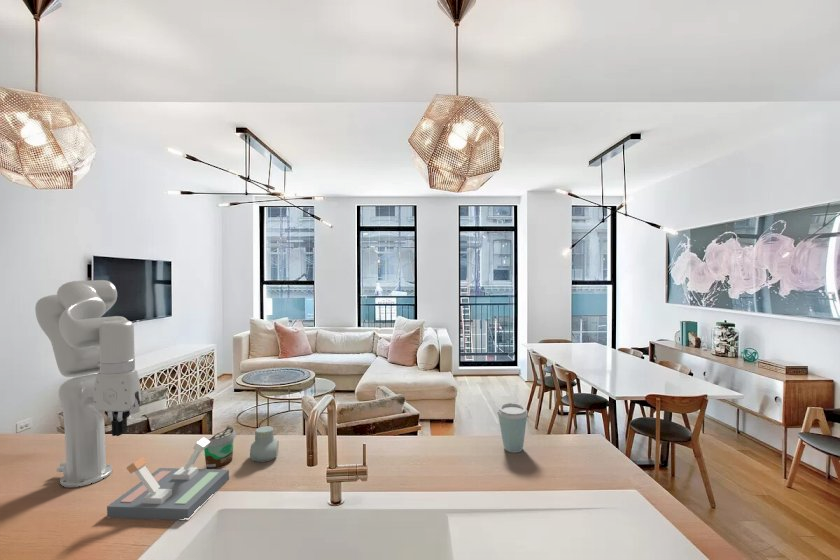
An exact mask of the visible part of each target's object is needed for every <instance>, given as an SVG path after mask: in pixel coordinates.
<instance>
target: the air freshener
mask: <svg viewBox="0 0 840 560" xmlns="http://www.w3.org/2000/svg"><path fill="white" fill-rule="evenodd" d="M274 434H275V433H274V427H273V426H270V425H265V426H260V427H258V428H256V429H255V430H254V441H253V442H252V443H251V444H250V449H249V459H250V460H252V461H255V462H257V463H264V462H269V461H272V460H273V459H275V458H276V457H277V456H278V455H279V445H280V444H279V443H280V442H279V439H276V438H275V435H274Z"/></svg>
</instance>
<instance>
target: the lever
mask: <svg viewBox="0 0 840 560" xmlns="http://www.w3.org/2000/svg"><path fill="white" fill-rule="evenodd" d="M208 440H209V439H207V438H206V437H202V438H201V439H199V440H197V442H196V443H195V444H194V446H193V449H194V451H193V453H192V454H191V456H190V458H189V459H188V461H187V462H186V464H185V465H184V466H183V467H184V470H186V471H188V470H189V469H190V468H191V467H194V465H195V462H196V461H197V460H198V458H199V456H200V454H201V453H202V452H204V449H205V448H207V446H208V445H209V443H210V441H208Z"/></svg>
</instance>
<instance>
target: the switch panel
mask: <svg viewBox="0 0 840 560" xmlns="http://www.w3.org/2000/svg"><path fill="white" fill-rule="evenodd" d="M184 467H185V466H181V467H180V468H177V467H175V468H171V467H159V468H157V469H156V470H155V471H153V472H152V473H151V475H152V476H153V477H154V479H155V480H156V481H157V483H158V484H159V486H160V487H159V488H158V489H157V490H156V491H154V492H153V493H152V494H150V493H149V491H148V490H147V488H146V487H145V486H144V484H143V483H142V482H141V481H140V482H139V483H137V484H136V485H134V486H132V488H130V489H129V490H128V491H127V492H125V493H123V494H122V495H120V497H118V498H117V499H115V500H114V501H113V502H111V503H110V504H109V505H107V506H106V513H107V514H106V518H109V519H110V518H111V519H134V520H135V519H138V520H143V519H144V520H167V521H180V520H179V519H184V518H189V517H190V516H191V515H192V514H193V513H194V511H195V510H196V509H197V508H198V507H199V506H201V505H202V504H203V503H204V502H205V501H206V500H207V499H208V498H209V497H210V496H211V495H212V494H214V493H215V492H216V493H217V492H218V491H219V490H220V489H221V488H222V487H223V486H224V485H225V484H226V483H227V482H228V481H229V480H230V470H229V469H219V468H216V469H206V468H199V467H197V466H192V467H191V468H190V469H189V470H188V471H186V470H184ZM216 493H215V494H216ZM215 494H214V495H215Z"/></svg>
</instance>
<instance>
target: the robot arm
mask: <svg viewBox="0 0 840 560" xmlns="http://www.w3.org/2000/svg"><path fill="white" fill-rule="evenodd" d="M117 298H118V291H117V288H116V286H115V284H114V283H112V282H111V281H110V280H106V279H105V280H104V279H100V280H99V279H97V280H96V279H94V280H72V281H67V282H65V283H64V284H61V285H60V286H59V287H58V290H57V292H56V294H51V295H47V296H43V297H42V298H39V299H38V300H37V301H36V303H35V308H34V309H35V318H36V320H37V323H38V325H39V326H40V328H41V330H42V331H43V333H44V334H45V336H47V338H48V339H49V341H50V343H51V346H52V350H53V351H52V352H53V354H54V358H55V362H56V365H57V368H58V370H59V373H60V374H61V375H62V376H63V377H66V378H70V379H68V380H66V381H64V382H63V383H62V384H61V385H60V386H59V390H58V397H59V401H60V406H61V411H62V414H63V416H62V417H63V424H64V441H65V444H64V445H65V461H63V462H61V463H60V464H59V466H58V467H57V468H56V470H55V471H56V472H57V473H63V476H62V477H61V478H60V479H59V483H60V484H61V485H62V486H61V485H60V484H59V485H60V486H61V487H63V486H64V488H79V486H80V487H84V486H88V485H92V484H94V483H97V482H99V481H102V480H104V479H105V478H107V477H108V476H109V475H111V474H112V472H113V465H111V464H109V463H107V460H106V459H107V458H106V457H107V456H106V455H107V454H106V433H105V432H106V431H105V418H104V415H105V416H106V417H107V418H108V420H109V422H111V436H112V437H115V436H116V437H120V436H122V435H123V434H125V433H127V431H128V418H129V417H130V416H131V415H135V414H137V413H140V411H141V408H140V405H141V403H142V390H141V382H140V377H139V374H138V370H137V369H136V363H135V362H136V361H135V360H136V359H135V355H136V354H135V327H134V326H135V325H134V323H133V322H132V321H130V320H128V319H127V318H126V317H124V316H119V315H115V316H105V317H104V315H105V314H106V313H107V312H108V311H109V310H110V309H111V308H112V307H113V306H114V305H115V304H116V302H117V300H118V299H117ZM103 414H104V415H103ZM103 478H104V479H103ZM91 483H92V484H91Z"/></svg>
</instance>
